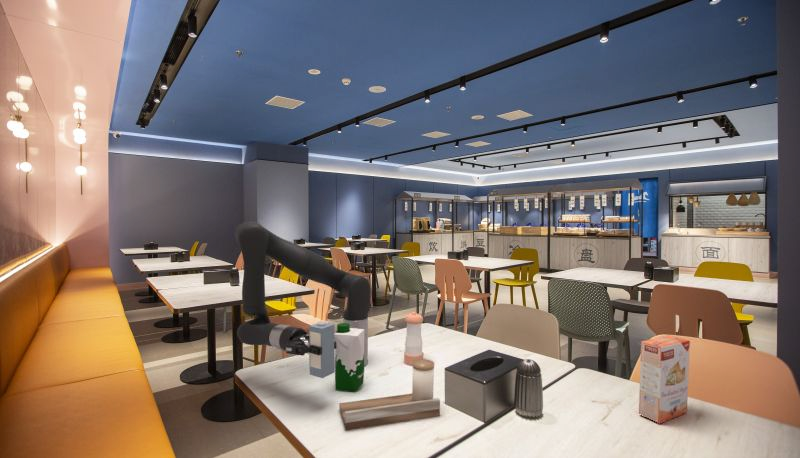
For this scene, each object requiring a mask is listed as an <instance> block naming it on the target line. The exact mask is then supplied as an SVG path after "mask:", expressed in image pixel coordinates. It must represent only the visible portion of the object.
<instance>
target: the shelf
mask: <svg viewBox="0 0 800 458" xmlns="http://www.w3.org/2000/svg"><path fill="white" fill-rule="evenodd" d="M338 405H339V409H338V410H339V411H338V412H339V413H340V417H341V420H342V424H343V427H344V430H345V431H346V432H347V431H352V430H359V429H365V428H372V427H376V426H384V425H390V424H397V423H404V422H411V421H415V420H424V419H428V418H429V419H430V418H434V417H435V418H436V417H440V416H441V400H440V398H438V397H436V398H433V399H429V400H422V401H415V402H412V393H406V394H397V395H391V396H384V397H383V396H382V397H377V398H367V399H362V400H354V401H347V402H339V404H338Z"/></svg>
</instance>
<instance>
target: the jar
mask: <svg viewBox="0 0 800 458" xmlns="http://www.w3.org/2000/svg"><path fill="white" fill-rule="evenodd" d="M434 370H435V362H434V361H433V360H431V359H427V358H425V359H424V358H423V359H418V360H414V361H413V365H412V386H411V388H412V389H411V390H412V393H411V394H412V402H415V401H422V400H429V399H434V383H435V382H434V381H435V379H434V377H435V375H434V374H435V373H434V372H435V371H434Z"/></svg>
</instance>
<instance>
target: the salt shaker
mask: <svg viewBox="0 0 800 458" xmlns="http://www.w3.org/2000/svg"><path fill="white" fill-rule="evenodd" d="M423 321H424V317H423V316H422V315H421V314H419V313H417V312H415V311H412V312H411V313H408V314H405V316H404V322H405V323H406V335H405V343H404V354H403V358H404V359H403V363H404V364H405V365H408V366H413V361H414V360H418V359H424V352H423V338H422V323H423Z"/></svg>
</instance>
